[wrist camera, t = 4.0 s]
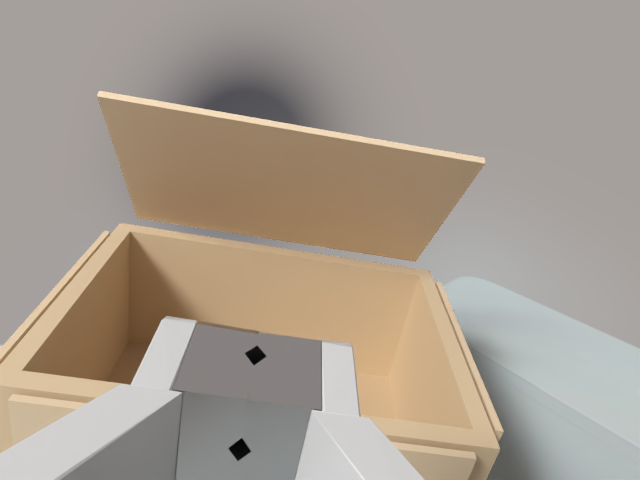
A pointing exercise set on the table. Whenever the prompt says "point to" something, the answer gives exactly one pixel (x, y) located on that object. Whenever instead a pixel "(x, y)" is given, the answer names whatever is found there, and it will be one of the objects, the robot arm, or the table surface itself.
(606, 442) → the table surface
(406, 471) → the robot arm
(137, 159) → the flap
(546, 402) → the table surface
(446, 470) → the carton
